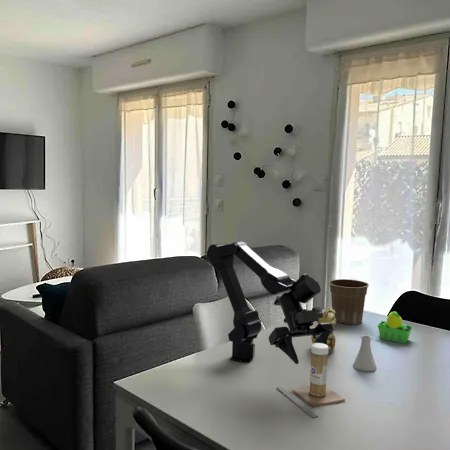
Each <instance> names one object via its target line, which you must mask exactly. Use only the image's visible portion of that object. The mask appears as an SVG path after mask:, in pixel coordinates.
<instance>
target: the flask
mask: <svg viewBox="0 0 450 450" xmlns="http://www.w3.org/2000/svg"><path fill="white" fill-rule="evenodd" d="M372 338H373V337H372V336H370V335H367V334H362V335H361V336H360V339H361V342H360V343H361V344H360V348H359V351H358V353H357V355H356V357H355V359H354V362H353V364H352V367H353V368H354V369H355V370H358V371H363V372H375V371H376V370H377V365H376V362H375V358H374V355H373V352H372V346H371V340H372Z"/></svg>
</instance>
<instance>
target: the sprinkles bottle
mask: <svg viewBox="0 0 450 450" xmlns="http://www.w3.org/2000/svg"><path fill="white" fill-rule="evenodd" d="M310 352H311V359H310V371H309V372H310V373H309V386H310V390H309V393H310V394H311V395H313V396H316V397H322V396H325V395H326V386H327V381H328V380H327V377H328V374H327V373H328V356H329V353H328V346H327V345H326V344H323V343H314V344H313V343H311V346H310Z"/></svg>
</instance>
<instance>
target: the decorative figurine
mask: <svg viewBox="0 0 450 450" xmlns="http://www.w3.org/2000/svg"><path fill="white" fill-rule="evenodd" d="M322 313H323V317H322V318H320V319H319V321H316V322H317V325H318V324H319V323H326V322H329V323H331V324H332V325H333V328H334V327H335V326H336V324H337V322H336V318H335V317H334V316H335V313H336V312H335V310H333V309H332V306H328V307H327V306H326V307H325V309H324V310H323V311H322ZM310 338H311V342H312V343H311V344H314V343H315V342H314V341H315V340H316V339H315V338H314V337H313V335H311V337H310ZM327 346H328V354H331V352H333V350H334V349H335V346H336V334H335V332H334V331H333V332H332V333H331V335H330V336H329V337H328V339H327Z"/></svg>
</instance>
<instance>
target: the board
mask: <svg viewBox="0 0 450 450" xmlns="http://www.w3.org/2000/svg"><path fill="white" fill-rule="evenodd" d="M309 390H310V385H309V386H304V387H298V388H293V389H292V392H293V393H294V394H295V395H297V396H298V397H299V398H300V399H301V400H303V401H304V402H305V403H307V405H309V406H310V407H312V408H317V407H322V406H328V405H333V404H339V403H342V402H343V403H344V402H345V401H346V399H345V398H344V397H342V396H341V395H339V394H338V393H337V392H335V391H334V390H332V388H329V387H328V386H327V385H326V395H325V396H322V397H316V396H313V395H311V394H310V393H309Z"/></svg>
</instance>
